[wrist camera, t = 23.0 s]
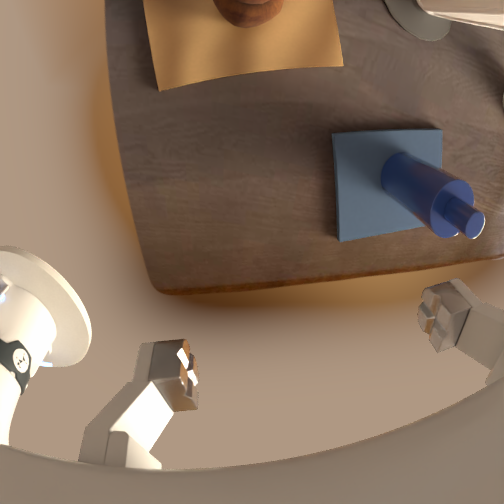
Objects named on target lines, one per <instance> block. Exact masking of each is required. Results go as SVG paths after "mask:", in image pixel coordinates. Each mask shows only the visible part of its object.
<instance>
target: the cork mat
mask: <svg viewBox="0 0 504 504" xmlns="http://www.w3.org/2000/svg"><path fill="white" fill-rule="evenodd" d="M143 4H144V11H145V18H146V24H147V30H148V36H149V42H150V48H151V53H152V59H153V64H154V70H155V75H156V80H157V85H158V90H159V91H163V90H167V89H171V88H175V87H179V86H183V85H188V84H192V83H197V82H201V81H206V80H212V79H217V78H222V77H228V76H234V75H241V74H248V73H255V72H263V71H271V70H281V69H293V68H307V67H329V66H343V60H342V53H341V47H340V40H339V34H338V28H337V23H336V17H335V12H334V7H333V2H332V0H284V3H283V6H282V9H281V11H280V13H279V14H278V15H276V16H275V17H274V18H272V19H271V20H270V21H268V22H266V23H263V24H261V25H259V26H256V27H250V28H242V27H237V26H234V25H232V24H231V23H230V22H228V21H227V20H226V19H225V18H224V17H223V16H222V15H221V13H220V12H219V11H218V9H217V7H216V6H215V4H214V2H213V0H143Z"/></svg>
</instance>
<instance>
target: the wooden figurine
mask: <svg viewBox="0 0 504 504" xmlns="http://www.w3.org/2000/svg"><path fill="white" fill-rule="evenodd" d="M213 2H214V4H215V6H216V7H217V9H218V11H219V12H220V13H221V15H222V16H223V17H224V18H225V19H226V20H227V21H228V22H230V23H231V24H232V25H234V26H237V27H242V28H250V27H256V26H259V25H261V24H263V23H266V22H268V21H270V20H271V19H272V18H274V17H275V16H276V15H278V14H279V13H280V11H281V9H282V6H283V3H284V0H213Z"/></svg>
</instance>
